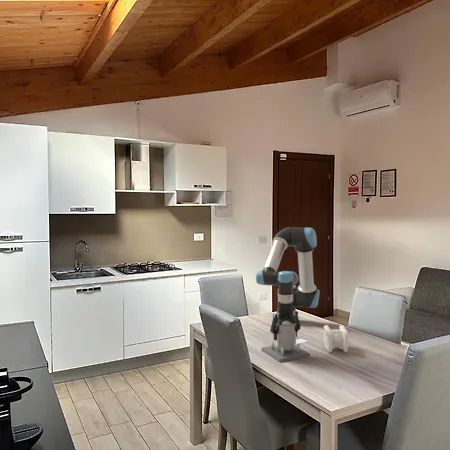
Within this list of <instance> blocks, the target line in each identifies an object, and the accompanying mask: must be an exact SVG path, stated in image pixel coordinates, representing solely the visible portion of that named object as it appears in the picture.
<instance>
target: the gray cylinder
mask: <svg viewBox="0 0 450 450" xmlns="http://www.w3.org/2000/svg"><path fill="white" fill-rule="evenodd" d="M277 325H278V324H277ZM278 334H279V347H277V346H276V347H277V348H278V349H281V347H284V350H292V349H294V348H295V346H296V344H295V323H293V324H292V323H290V322H289V321H284V322H282V325H279V331H278Z"/></svg>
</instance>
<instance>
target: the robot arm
mask: <svg viewBox="0 0 450 450" xmlns="http://www.w3.org/2000/svg"><path fill="white" fill-rule="evenodd" d="M317 242H318V241H317V234H316V231H315V229H314V228H313V227H307V226H306V227H292V226H291V227H289V226H288V227H284V228H283V229H281V230H280V231H278V232H277V233H276V234H275V235H274V237H273V238H272V241H271V245H272V246H271V248H270V252H269V253H268V256H267V259H266V261H265V264H264V267H263V269H262V270H258V271H257V272H256V274H255V280H256V281H255V282H256V284H258V285H261V286H271V287H272V286H274V287H278V288H277V294H276V295H277V309H276V312H273V313H272V320H271V327H270V330H269V332H270V333H271V334H273V340H274V346H277V347H279V334H278V331H279V325H282V322H284V321H289V322H290V323H292V324H293V323H295V345H297V338H298V332H299V331H300V330H301V325H300V319H299V312H298V311H297V310H296V307H302V308H309V309H311V308H312V309H315V308H317V307H318V304H319V299H320V292H321V291H320V290H319V289H318V288H317V286H316V285H315V284H314V283H315V282H314V281H315V279H314V265H313V263H314V262H313V251H314V250H315V248H317V244H318V243H317ZM288 247H293V248H294V250H295V252H297V263H298V272H299V273H298V274H297V273H296V272H295V271H289V270H282V271H278V269H279V267H280V264H281V260H282V258H283V255H284V252H285V250H287V248H288ZM298 275H299V276H298ZM298 282H299V285H298V286H296V285H297V284H298ZM277 324H278V325H277Z"/></svg>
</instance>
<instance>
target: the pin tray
mask: <svg viewBox="0 0 450 450" xmlns="http://www.w3.org/2000/svg"><path fill="white" fill-rule="evenodd" d="M261 351H262V352H263V353H265V354H266V355H268V356H269V357H271V358H272V359H274V360H276V362H278V363H282V362H288V361H292V360H298V359H299V360H300V359H303V358H304V359H305V358H310V357H311V353H310V352H308V351H306V350H305V349H302V348H301V344H300V343H296V345H295V348H294V349H292V350H284V347H281V349H278V348H277V347H276V346H275V340H274V341H273V340H272V341H271V342H270V346H264V347H261Z"/></svg>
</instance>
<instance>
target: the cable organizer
mask: <svg viewBox="0 0 450 450" xmlns="http://www.w3.org/2000/svg"><path fill="white" fill-rule="evenodd" d="M323 345H324V347H325V348H326V351H327V352H328V353H333V350H334V351H335V350H336V348H339V350H342V351H343V352H344V353H348V352H349V349H348V348H349V333H348V331H347V329H346V327H345V326H344V324H339V329H331V328H330V327H329V325H328V324H326V325H324V326H323Z"/></svg>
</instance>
